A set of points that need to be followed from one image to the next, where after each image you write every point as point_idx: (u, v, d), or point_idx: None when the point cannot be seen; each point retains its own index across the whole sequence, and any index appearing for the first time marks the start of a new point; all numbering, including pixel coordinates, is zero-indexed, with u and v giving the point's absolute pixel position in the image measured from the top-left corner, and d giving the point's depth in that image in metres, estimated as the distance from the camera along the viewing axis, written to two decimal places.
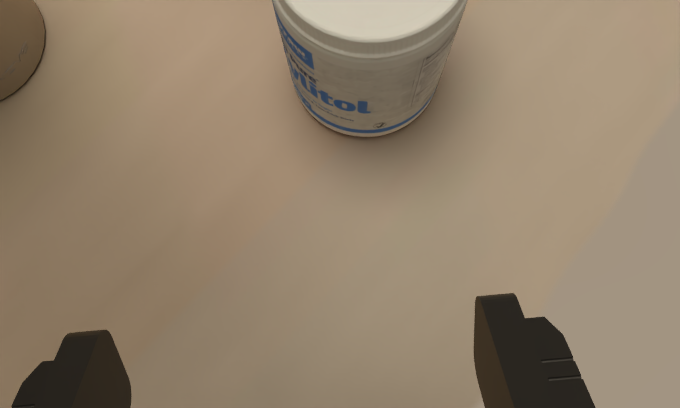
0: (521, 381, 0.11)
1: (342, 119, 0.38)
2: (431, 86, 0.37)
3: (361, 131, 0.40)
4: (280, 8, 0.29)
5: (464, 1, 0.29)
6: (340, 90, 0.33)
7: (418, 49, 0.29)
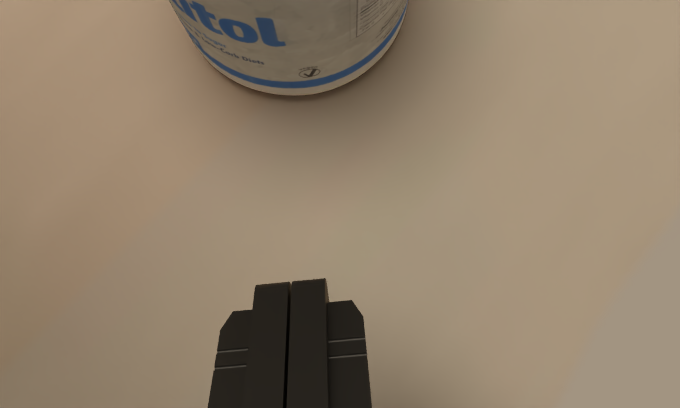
0: (302, 357, 0.11)
1: (246, 62, 0.23)
2: (389, 1, 0.22)
3: (283, 85, 0.25)
4: None
5: None
6: None
7: None
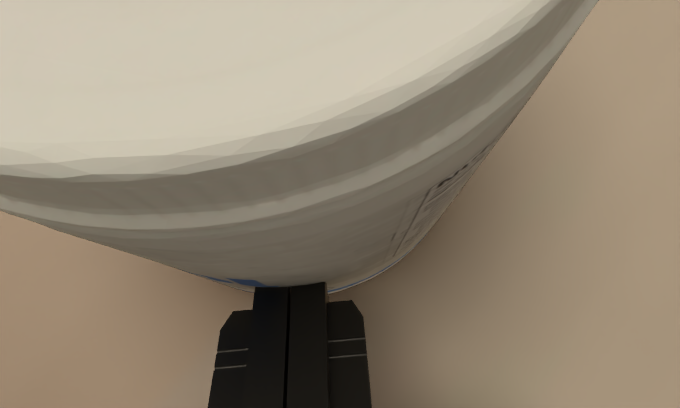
0: (302, 357, 0.11)
1: None
2: None
3: None
4: None
5: None
6: None
7: (399, 176, 0.06)
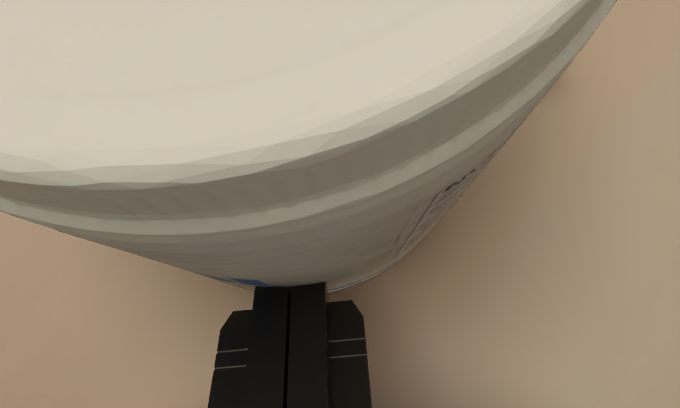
0: (302, 357, 0.11)
1: None
2: None
3: None
4: None
5: None
6: None
7: (410, 183, 0.06)
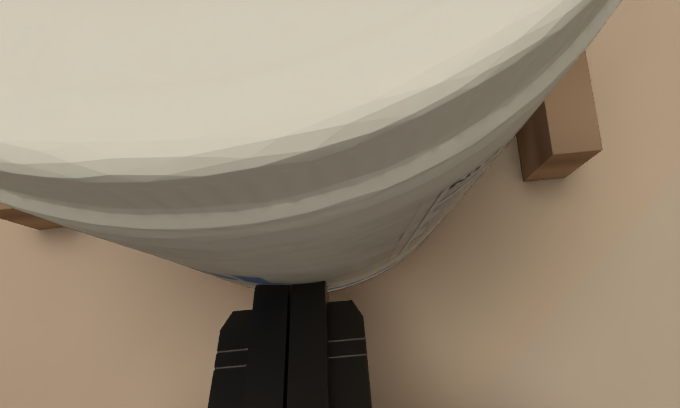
0: (302, 357, 0.11)
1: None
2: None
3: None
4: None
5: None
6: None
7: (415, 178, 0.06)
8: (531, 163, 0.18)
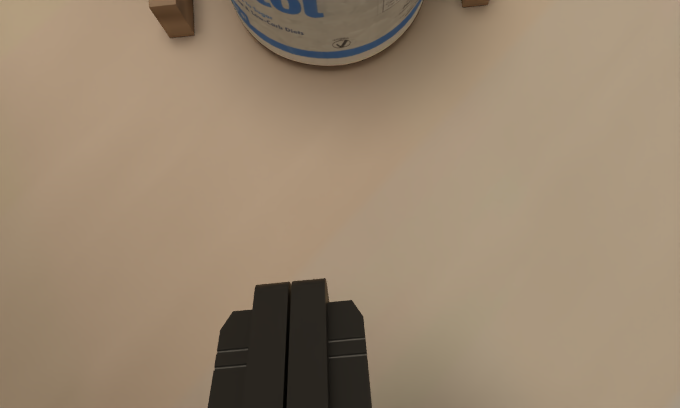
0: (302, 357, 0.11)
1: (288, 32, 0.27)
2: None
3: (318, 55, 0.29)
4: None
5: None
6: None
7: None
8: None
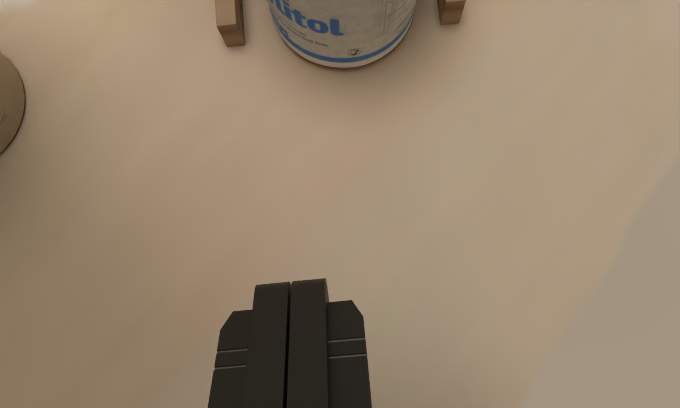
0: (302, 357, 0.11)
1: (317, 45, 0.39)
2: (403, 10, 0.38)
3: (337, 60, 0.41)
4: None
5: None
6: (311, 6, 0.34)
7: None
8: (441, 13, 0.42)
